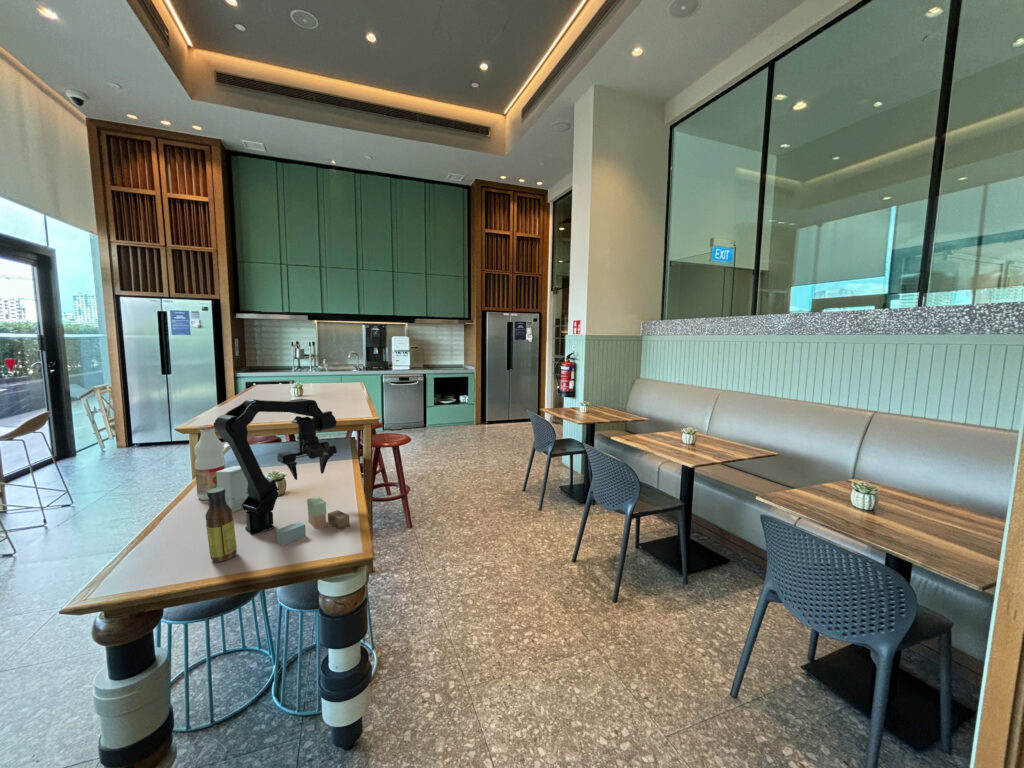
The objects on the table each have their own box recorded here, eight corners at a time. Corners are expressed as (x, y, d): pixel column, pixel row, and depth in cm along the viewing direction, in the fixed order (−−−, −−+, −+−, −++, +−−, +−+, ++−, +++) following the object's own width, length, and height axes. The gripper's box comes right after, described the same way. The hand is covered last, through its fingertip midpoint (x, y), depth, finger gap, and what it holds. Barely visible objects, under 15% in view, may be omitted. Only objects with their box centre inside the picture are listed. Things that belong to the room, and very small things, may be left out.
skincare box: (232, 513, 144) (229, 472, 142) (217, 512, 145) (214, 471, 143) (251, 504, 152) (248, 465, 150) (237, 503, 153) (234, 464, 151)
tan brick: (326, 525, 135) (325, 514, 134) (314, 528, 133) (314, 516, 132) (319, 518, 140) (318, 507, 140) (308, 521, 138) (307, 510, 137)
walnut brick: (349, 526, 134) (349, 515, 134) (339, 530, 131) (339, 518, 131) (337, 521, 138) (337, 510, 138) (328, 525, 136) (327, 513, 135)
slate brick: (282, 545, 122) (282, 532, 121) (277, 542, 124) (276, 529, 123) (305, 536, 127) (305, 524, 127) (299, 533, 129) (299, 521, 129)
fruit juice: (202, 493, 163) (197, 424, 160) (230, 490, 166) (225, 422, 163) (193, 501, 154) (187, 429, 151) (222, 498, 157) (217, 427, 154)
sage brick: (326, 513, 135) (325, 502, 134) (315, 516, 132) (314, 505, 132) (318, 507, 140) (317, 496, 139) (307, 510, 137) (307, 499, 137)
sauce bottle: (236, 549, 119) (232, 483, 117) (237, 558, 114) (233, 490, 112) (208, 556, 115) (203, 488, 113) (208, 566, 110) (203, 495, 108)
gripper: (288, 442, 133) (291, 488, 135) (343, 433, 147) (345, 474, 149) (275, 437, 140) (277, 481, 142) (329, 428, 155) (330, 468, 156)
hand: (309, 476), depth 147 cm, fingers open, 9 cm apart
